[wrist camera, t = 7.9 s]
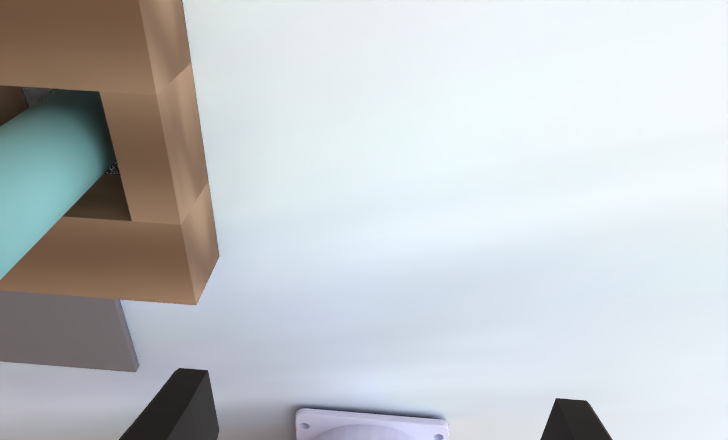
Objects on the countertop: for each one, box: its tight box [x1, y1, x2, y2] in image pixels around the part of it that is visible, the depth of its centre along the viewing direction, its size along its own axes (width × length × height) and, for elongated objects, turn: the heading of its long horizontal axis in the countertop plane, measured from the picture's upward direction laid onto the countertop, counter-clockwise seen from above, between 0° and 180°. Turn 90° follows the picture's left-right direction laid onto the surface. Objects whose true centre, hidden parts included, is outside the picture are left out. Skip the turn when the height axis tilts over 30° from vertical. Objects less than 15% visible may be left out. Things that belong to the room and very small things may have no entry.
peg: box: [0, 89, 117, 280], centre depth 16 cm, size 3×3×9 cm
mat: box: [0, 290, 139, 372], centre depth 25 cm, size 8×9×1 cm
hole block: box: [0, 0, 219, 305], centre depth 18 cm, size 12×8×3 cm, turn 178°
